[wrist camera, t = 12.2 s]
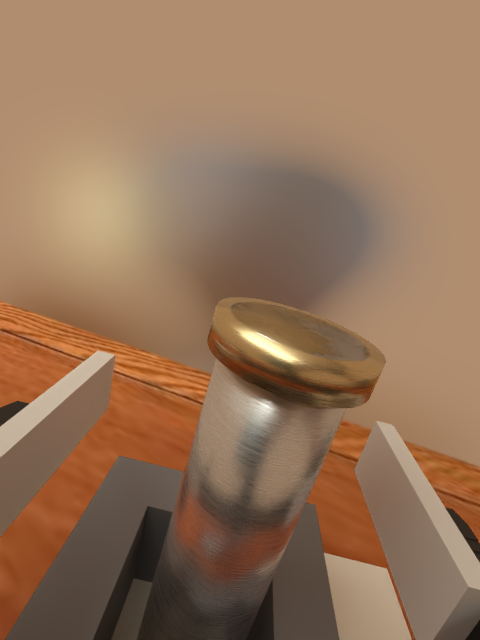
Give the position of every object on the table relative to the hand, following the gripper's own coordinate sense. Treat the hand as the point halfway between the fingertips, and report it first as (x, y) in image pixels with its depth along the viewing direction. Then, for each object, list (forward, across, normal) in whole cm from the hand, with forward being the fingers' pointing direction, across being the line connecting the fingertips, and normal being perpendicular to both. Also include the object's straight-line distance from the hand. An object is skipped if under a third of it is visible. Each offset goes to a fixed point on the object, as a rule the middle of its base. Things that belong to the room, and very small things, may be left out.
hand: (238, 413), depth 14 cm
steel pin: (-4, 0, -10) cm, 11 cm away
